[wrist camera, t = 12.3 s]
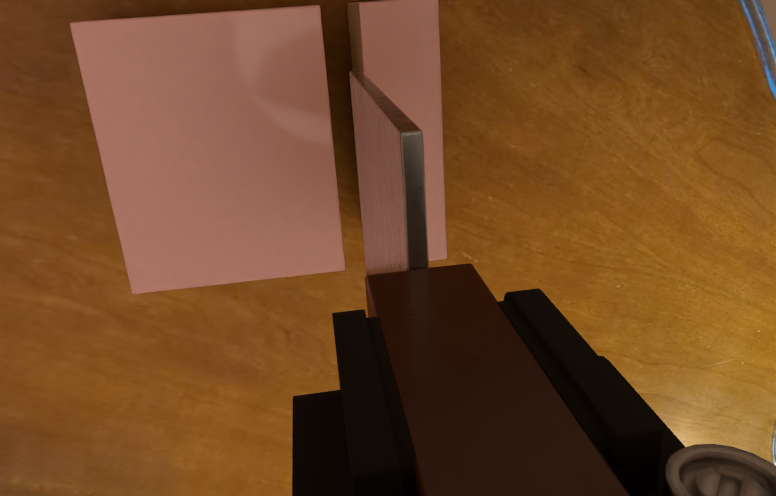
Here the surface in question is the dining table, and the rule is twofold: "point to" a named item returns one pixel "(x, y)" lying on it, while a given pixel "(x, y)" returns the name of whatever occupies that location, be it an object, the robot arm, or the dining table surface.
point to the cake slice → (408, 83)
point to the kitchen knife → (456, 341)
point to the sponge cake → (215, 144)
